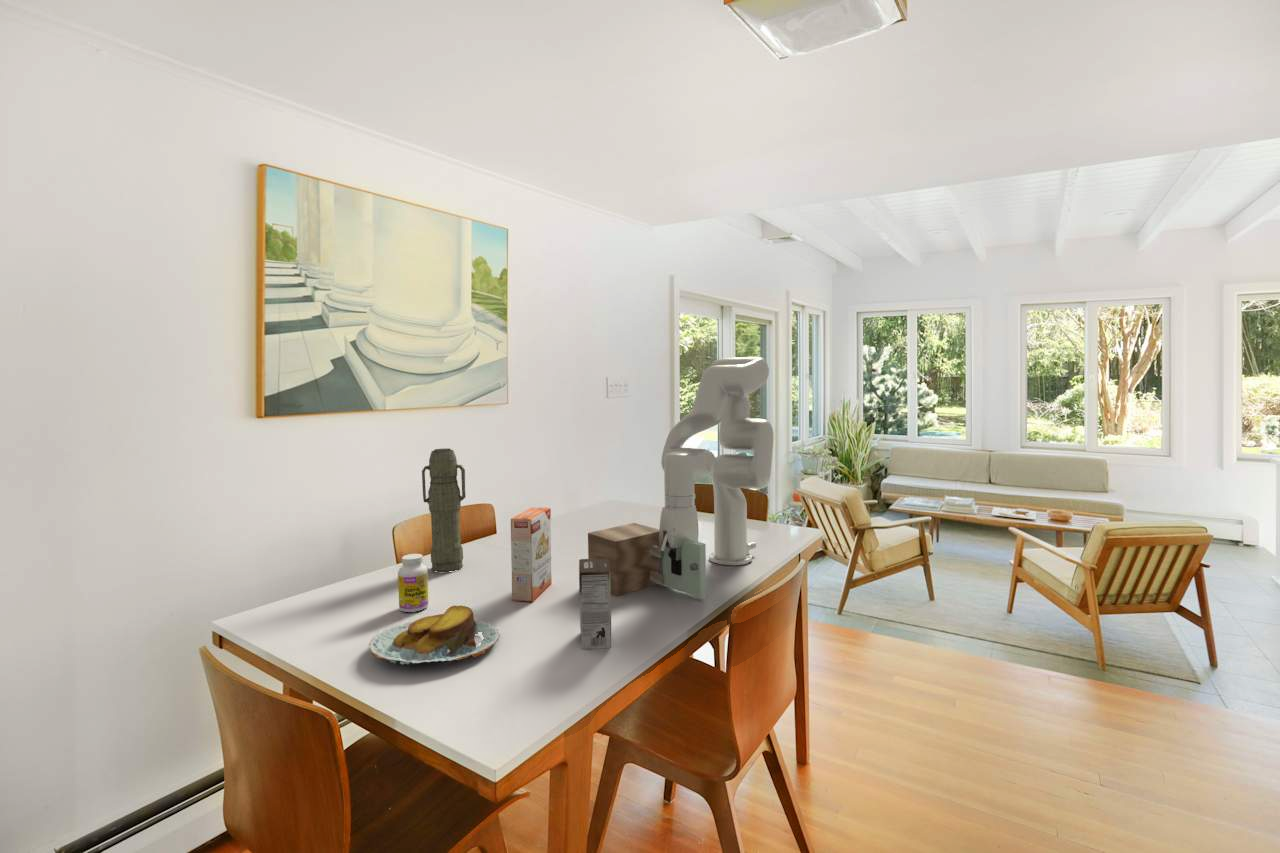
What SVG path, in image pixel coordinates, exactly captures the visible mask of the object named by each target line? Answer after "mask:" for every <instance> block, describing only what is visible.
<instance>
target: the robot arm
mask: <svg viewBox="0 0 1280 853" xmlns="http://www.w3.org/2000/svg"><path fill="white" fill-rule="evenodd" d="M769 368H770V367H769V364H768V362H767V361H766V359H764V358H763V357H759V356H746V357H745V356H744V357H740V356H739V357H723V358H718V359H716V360H713V361H712V363H711V365H710V366H708V367H707V368H706V369H704V370H703V372H702V374H701V378H700V381H699V384H698V387H697V391H696V394H695V398H694V401H693V405H692V408H691V410H690V411H689V413H687V414H686V415H685V416H684V417H682V418H681V419H680V420H679V421H678V422H677V423H676V424H675V425H674V426H673V427H672V428H671V430H670V431H669V433H668V434H667V437H666V440H665V443H664V446H663V450H662V453H661V461H660V464H661V468H662V470H663V471H664V472H663V473H664V474H663V476H664V484H663V485H664V507H663V506H662V508H661V513H660V519H659V528H658V529H659V544H660V545H661V546H662V547H661V552H663V553H666V554H667V555H668V556H669V558H671V573H673V574H676V575H679V576H680V575H681V560H680V547H682V546H683V541H686V540H692V541H696V542H699V536H700V535H699V533H700V532H699V530H700V529H699V520H698V518H699V517H698V516H699V515H698V511H697V507H696V505H695V504H696V503H695V502H696V501H695V499H696V498H697V497H696V494H695V479H705V478H708V477H710V476H711V481H712V486H713V487H712V488H713V499H714V500H713V501H714V502H713V504H714V505H713V506H714V507H713V508H714V510H713V512H714V516H713V518H714V519H713V520H714V521H713V522H714V530H713V531H714V551H713V552H711V553H710V554H709V556H708V558H709V560H710V561H711V562H713V563H715V564H717V565H723V566H742V565H743V566H744V565H747V564H750V563H751V562H752V560H753V556H752V554H750V553H749V551H750V550H753V549H756V548H757V544H756V542H754V541H753V542H747V541H748V540H747V539H748V538H747V537H748V534H747V532H748V529H747V527H748V526H747V525H748V524H747V519H748V517H747V515H748V514H747V511H748V510H747V508H748V505H747V499H746V497H745V494H744V492H743V491H742V489H753V490H761V489H765V488H766V487H767V486H768V485H769V483H770V481H771V474H772V465H773V464H772V462H773V453H774V452H773V451H774V449H773V448H774V428H773V426H772V424H771V422H770V421H768V420H767V419H765V418H764V419H763V418H751V417H750V416H751V415H750V414H751V401H750V398H749V396H748V395H751V394H752V393H754V392H756V391H758V390H759V389H760V388H761V387H763V386H764V385H765V384H766V382H767V381H768V378H769V372H770V371H769V370H770V369H769ZM717 425H719V434H718V435H719V436H718V440H719V444H720V446H721V448H723V449H726V450H731V451H732V450H733V451H747V452H753V455H749V454H748V455H747V454H736V453H735V454H730V453H725V454H720V455H717V456H715V455H714V453H713V452H712V451H711V450H708V449H705V448H691V447H683V445H684V444H685V443H686V442H687V441H688V440H689V439H690V438H691V437H693V436H694V435H696V434H699V433H701V432H704V431H706V430H709V429H712V428H713V427H715V426H717ZM741 488H742V489H741ZM668 547H669V548H668ZM674 550H675V552H674ZM749 562H750V563H749Z"/></svg>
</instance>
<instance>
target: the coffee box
mask: <svg viewBox="0 0 1280 853" xmlns="http://www.w3.org/2000/svg"><path fill="white" fill-rule="evenodd" d="M578 565H579V566H578V571H579V572H578V581H579V584H578V586H579V588H578V589H579V592H578V594H579V621H580V625H579V626H580V627H579V628H580V647H581V650H589V649H590V650H591V649H592V650H593V649H610V648H612V604H611V603H612V599H611V598H612V594H611V586H610V566H609V560H608V559H588V558H581V559H579V562H578Z"/></svg>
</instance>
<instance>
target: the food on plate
mask: <svg viewBox="0 0 1280 853" xmlns="http://www.w3.org/2000/svg"><path fill="white" fill-rule="evenodd" d="M478 632H482V635H483V637H484V639H483V640H482V641H480V642H481V645H480V646H478V647H476V646H477V643H476V640H475V638H476V636H475V634H478ZM500 636H501V635H500V632H499V629H497V628H496V627H495V626H493V625H492V624H490V623H488V622H486V621H485V622H484V621H481V620H477V619H475V616H474V612H473V609H472V608H471V607H469V606H465V605H452V606H450V607H449V608H447V609H446V611H445V612H444V613H441V614H434V615H429V616H424V617H421V618H419V619H417V620H414V621H408V622H406V623H404V624H401V625H399V624H398V625H395V626H392V627H389V628H385V629H384V630H382V631H380V632H378V633H376V634H375V635H374V636H373V637H372V638H371V640H370V642H369V643H368V644H369V645H368V646H369V651H370V653H372V657H375V658H379V659H384V660H387V661H389V662H390V663H394V664H396V663H397V661H398V662H399V661H400V662H399V664H400V665H404V664H405V665H410V664H411V663H412V664H420V663H425V662H426V663H431V662H439V661H440V662H445V661H448V662H452V661H453V660H456V661H459V660H463V659H466V658H469V657H470V656H472V657H473V658H475V657H479V656H480V655H484V654H485V652H486V650H490V648H491V647H492V646H494V645H495V644H496V643H497V642H499V639H500Z"/></svg>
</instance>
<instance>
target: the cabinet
mask: <svg viewBox="0 0 1280 853" xmlns="http://www.w3.org/2000/svg"><path fill="white" fill-rule="evenodd" d="M587 551H588V552H587V553H588V554H587V555H588V558H587V559H608V560H609V566H610V586H611V595H613V596H615V597H620V596H623V595H626V594H629V593H633V592H636V591H639V590H642V589H646V588H648V587H652V586H654V585H661V584H663V579H662V574H660V569H659V558H662V552H661V547H659V528H656V527H651V526H648V525H644V524H640V523H636V522H632V523H628V524H623V525H618V526H613V527H609V528H605V529H599V530H595V531H590V532H588V533H587Z"/></svg>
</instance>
